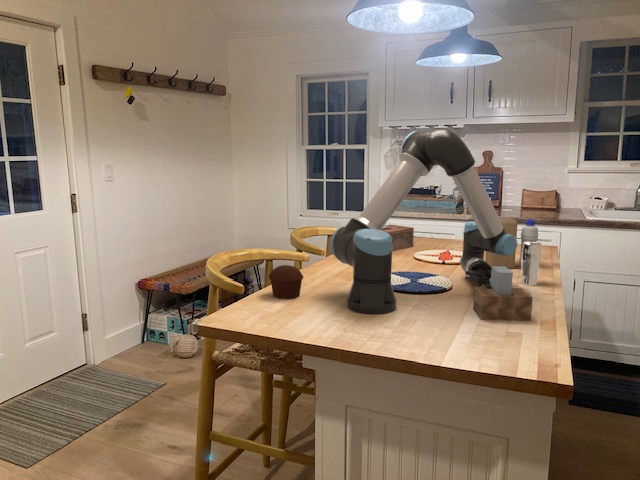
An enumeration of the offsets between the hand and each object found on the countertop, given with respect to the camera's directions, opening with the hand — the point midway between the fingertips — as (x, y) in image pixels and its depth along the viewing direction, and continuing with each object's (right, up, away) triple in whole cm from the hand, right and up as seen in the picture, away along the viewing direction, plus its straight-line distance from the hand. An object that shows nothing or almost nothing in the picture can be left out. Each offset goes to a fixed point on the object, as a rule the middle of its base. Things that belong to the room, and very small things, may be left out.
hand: (497, 288), depth 159 cm
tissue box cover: (-22, +10, +97) cm, 100 cm away
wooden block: (+21, +3, +59) cm, 62 cm away
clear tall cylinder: (+22, -1, +31) cm, 38 cm away
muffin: (-65, -4, +14) cm, 67 cm away
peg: (0, -7, -3) cm, 7 cm away
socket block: (-1, -7, -5) cm, 9 cm away
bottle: (+32, +3, +57) cm, 65 cm away
